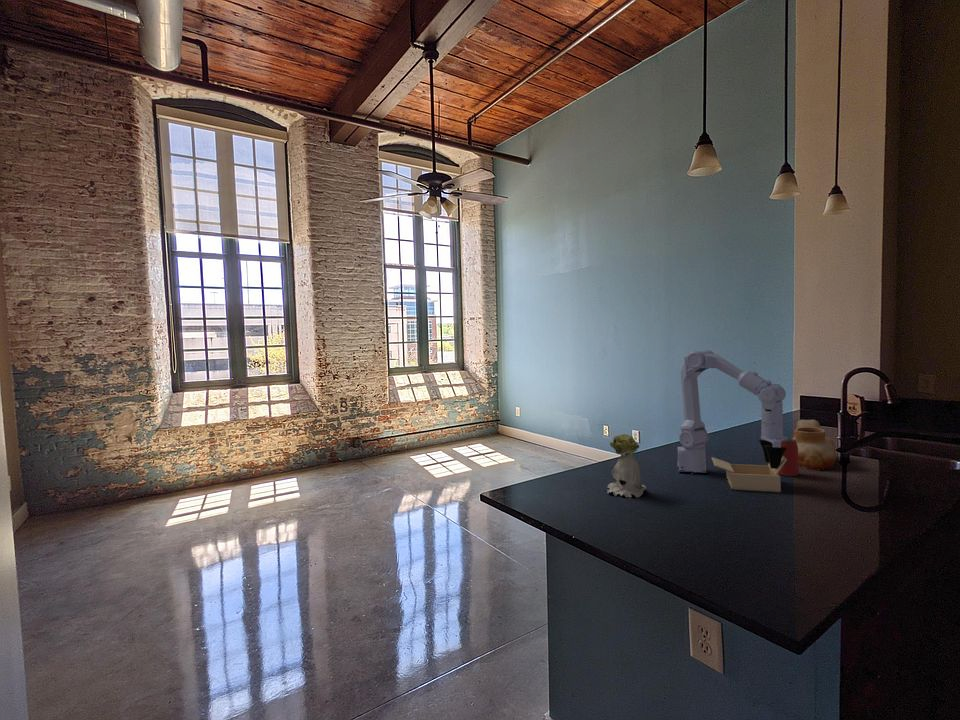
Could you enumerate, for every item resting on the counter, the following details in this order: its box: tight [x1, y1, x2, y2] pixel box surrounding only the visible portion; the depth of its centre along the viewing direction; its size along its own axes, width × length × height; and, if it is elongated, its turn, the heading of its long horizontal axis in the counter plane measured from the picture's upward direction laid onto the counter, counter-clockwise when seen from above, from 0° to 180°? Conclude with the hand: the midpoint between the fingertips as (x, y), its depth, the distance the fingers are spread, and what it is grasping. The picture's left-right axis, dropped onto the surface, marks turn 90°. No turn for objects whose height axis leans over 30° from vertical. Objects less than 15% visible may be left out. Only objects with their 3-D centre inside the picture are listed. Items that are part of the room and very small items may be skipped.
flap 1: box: [711, 456, 734, 473], centre depth 151 cm, size 6×11×1 cm, turn 157°
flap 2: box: [767, 456, 787, 475], centre depth 145 cm, size 6×11×1 cm
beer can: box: [778, 437, 800, 477], centre depth 158 cm, size 7×7×12 cm
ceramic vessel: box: [791, 419, 837, 470], centre depth 172 cm, size 14×26×15 cm, turn 148°
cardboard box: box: [725, 463, 782, 493], centre depth 148 cm, size 13×13×5 cm
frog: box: [606, 433, 647, 499], centre depth 148 cm, size 12×13×18 cm
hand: (772, 465), depth 146 cm, fingers open, 7 cm apart
